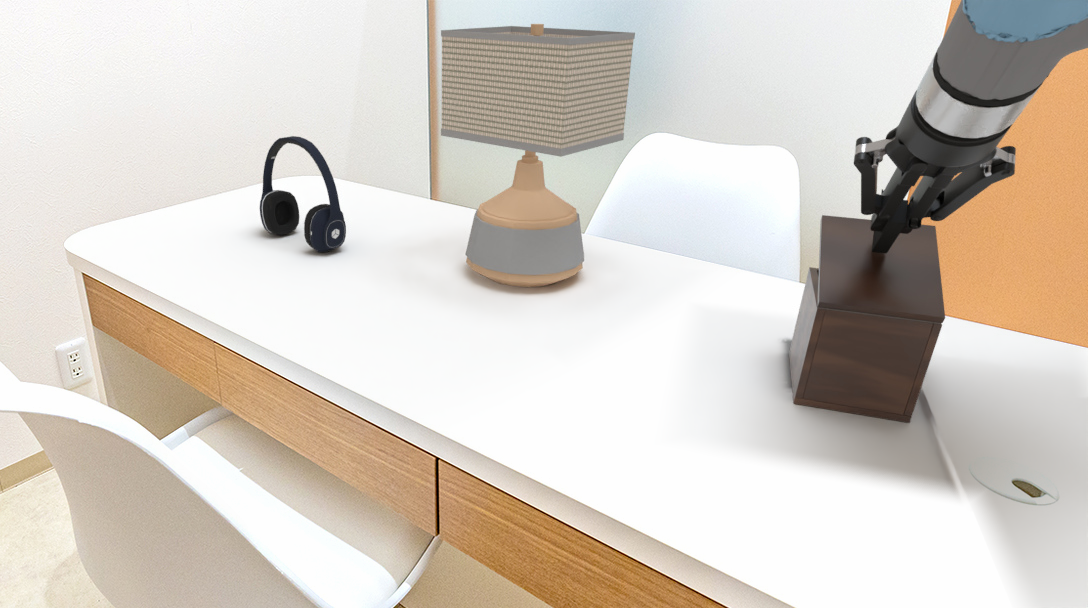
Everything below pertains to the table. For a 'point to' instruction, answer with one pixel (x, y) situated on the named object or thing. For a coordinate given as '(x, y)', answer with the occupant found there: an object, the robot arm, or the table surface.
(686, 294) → the table surface
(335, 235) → the headphones
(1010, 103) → the robot arm
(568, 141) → the desk lamp
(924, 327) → the chest
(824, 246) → the lid
